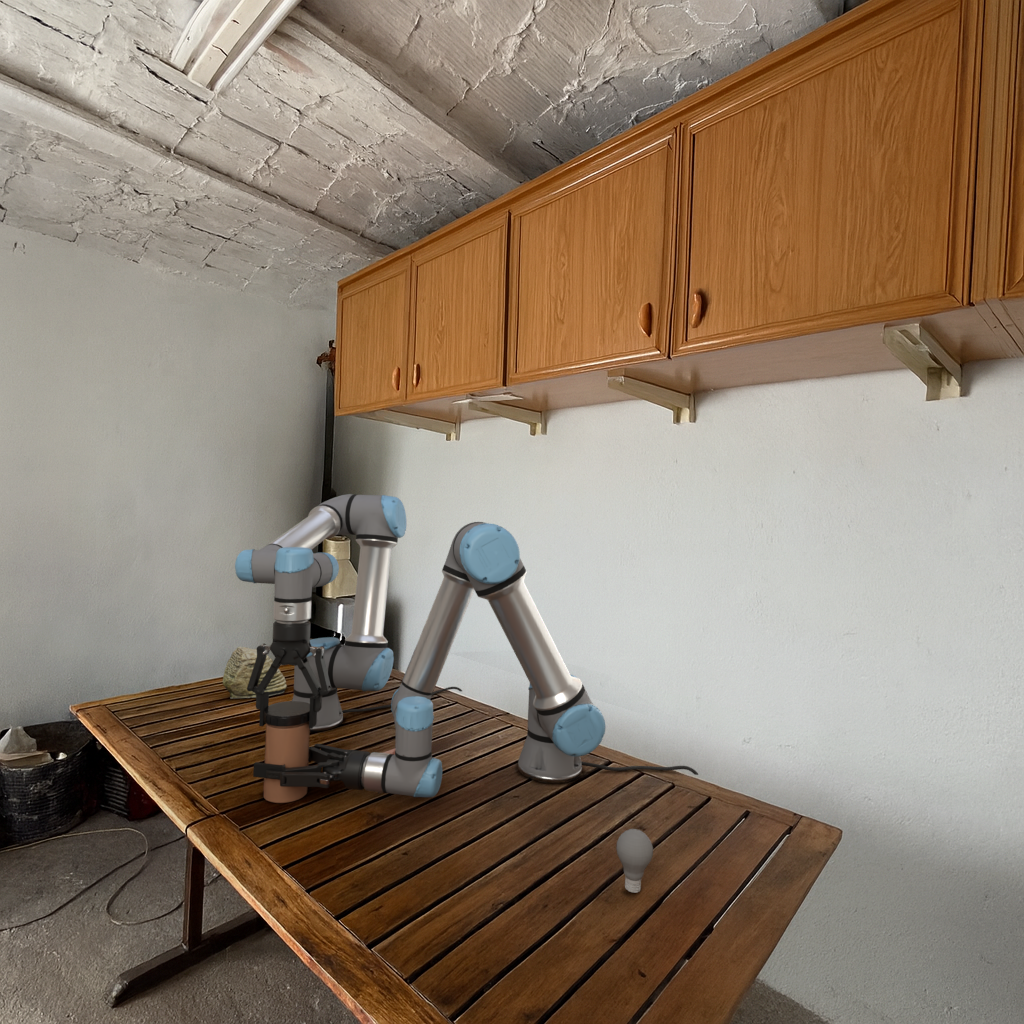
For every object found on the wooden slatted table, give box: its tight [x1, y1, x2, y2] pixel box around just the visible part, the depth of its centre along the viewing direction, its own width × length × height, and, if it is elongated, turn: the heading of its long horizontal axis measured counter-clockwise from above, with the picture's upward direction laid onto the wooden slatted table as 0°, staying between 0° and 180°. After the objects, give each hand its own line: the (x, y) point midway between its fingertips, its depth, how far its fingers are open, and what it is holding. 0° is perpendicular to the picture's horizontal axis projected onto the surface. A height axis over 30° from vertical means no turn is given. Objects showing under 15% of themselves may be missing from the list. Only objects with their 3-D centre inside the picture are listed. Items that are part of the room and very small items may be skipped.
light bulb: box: [615, 828, 654, 894], centre depth 106 cm, size 6×6×10 cm
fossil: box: [222, 646, 288, 699], centre depth 198 cm, size 9×18×15 cm, turn 132°
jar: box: [262, 721, 311, 804], centre depth 135 cm, size 9×9×17 cm
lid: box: [263, 700, 310, 726], centre depth 134 cm, size 10×10×2 cm
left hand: (288, 725), depth 134 cm, fingers closed on lid, 10 cm apart
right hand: (266, 760), depth 135 cm, fingers closed on jar, 9 cm apart
